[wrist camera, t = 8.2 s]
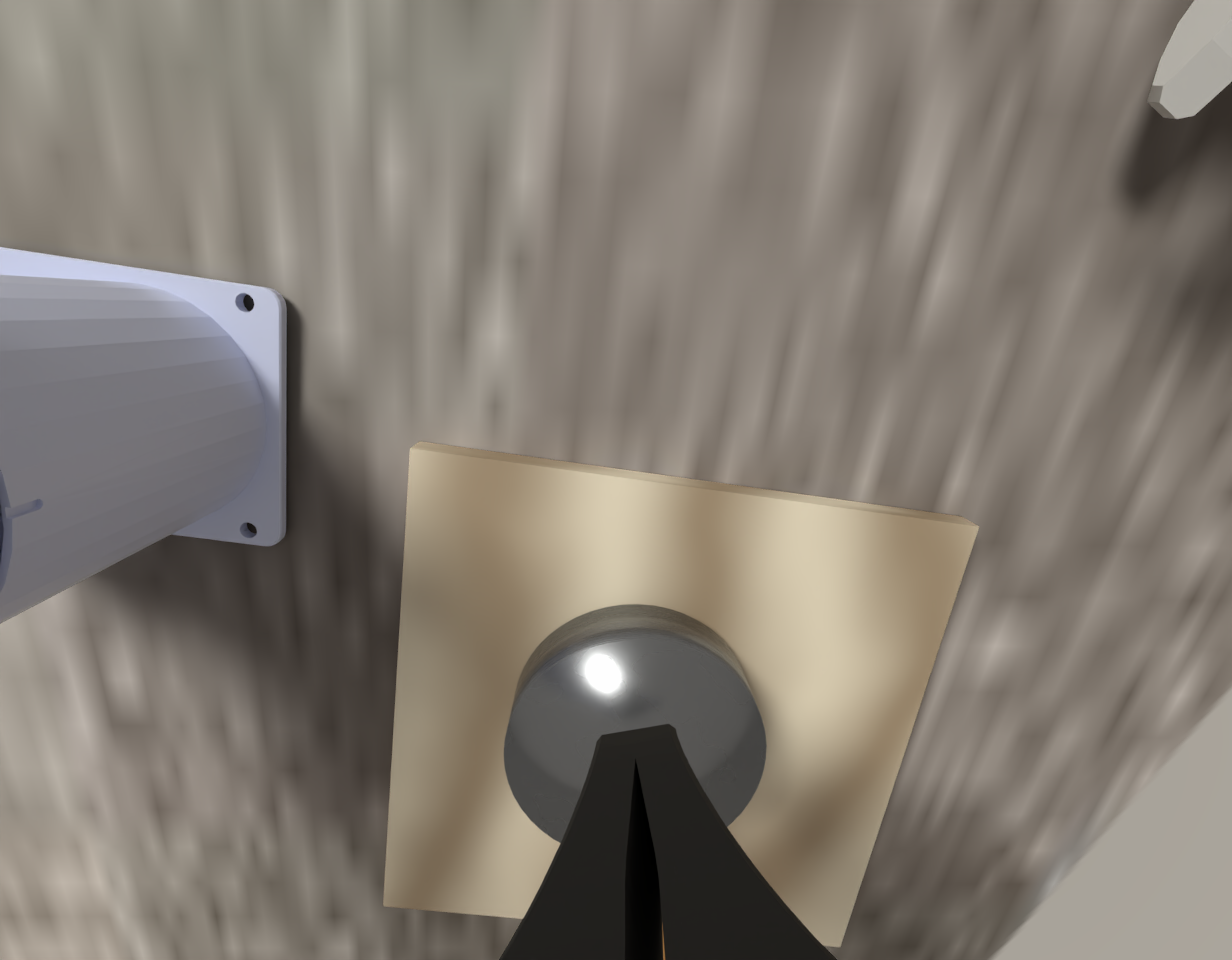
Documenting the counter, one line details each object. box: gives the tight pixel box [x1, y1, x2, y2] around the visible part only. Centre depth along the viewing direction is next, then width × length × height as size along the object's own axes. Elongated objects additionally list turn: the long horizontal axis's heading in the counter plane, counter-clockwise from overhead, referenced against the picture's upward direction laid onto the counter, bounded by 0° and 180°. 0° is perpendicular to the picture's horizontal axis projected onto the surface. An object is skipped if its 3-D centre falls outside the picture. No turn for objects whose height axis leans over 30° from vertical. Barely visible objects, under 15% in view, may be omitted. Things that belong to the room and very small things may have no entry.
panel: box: [383, 441, 979, 947], centre depth 22 cm, size 18×18×1 cm
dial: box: [504, 604, 767, 960], centre depth 19 cm, size 13×8×5 cm, turn 12°
